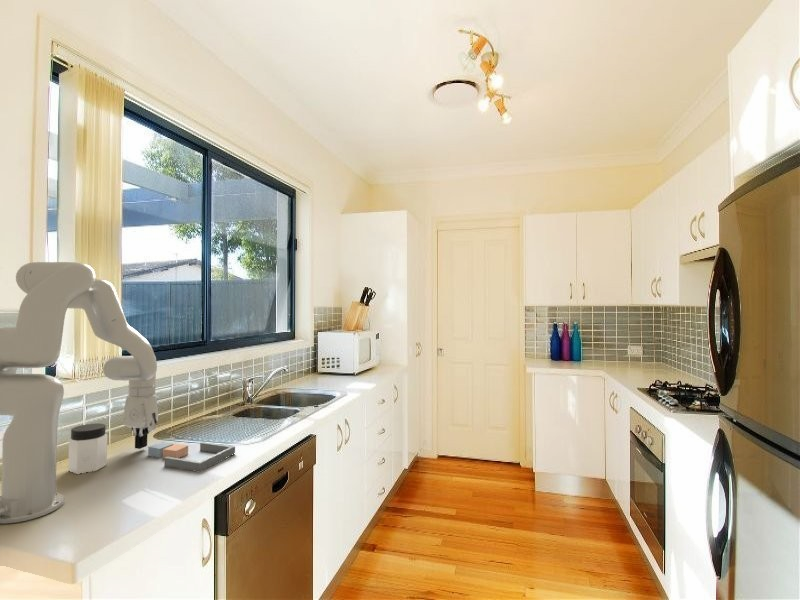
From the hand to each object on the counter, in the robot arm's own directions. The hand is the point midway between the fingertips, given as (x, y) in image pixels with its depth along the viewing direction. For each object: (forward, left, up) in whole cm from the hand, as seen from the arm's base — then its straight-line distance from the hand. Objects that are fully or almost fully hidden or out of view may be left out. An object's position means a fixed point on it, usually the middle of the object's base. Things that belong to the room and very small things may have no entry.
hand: (141, 447), depth 136 cm
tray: (0, -24, -1) cm, 24 cm away
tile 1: (0, -8, -1) cm, 9 cm away
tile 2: (0, -14, -1) cm, 14 cm away
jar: (-16, +2, -1) cm, 16 cm away
